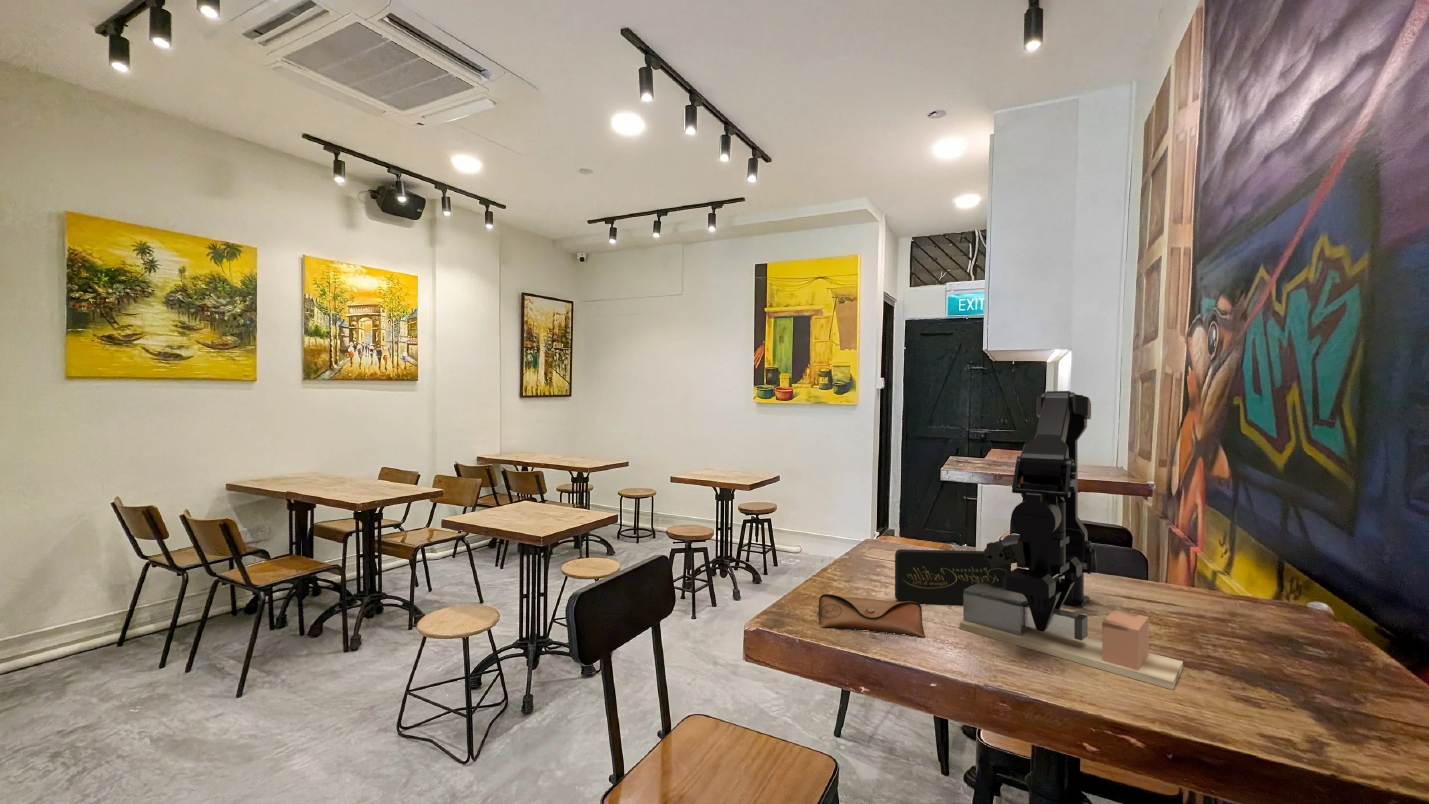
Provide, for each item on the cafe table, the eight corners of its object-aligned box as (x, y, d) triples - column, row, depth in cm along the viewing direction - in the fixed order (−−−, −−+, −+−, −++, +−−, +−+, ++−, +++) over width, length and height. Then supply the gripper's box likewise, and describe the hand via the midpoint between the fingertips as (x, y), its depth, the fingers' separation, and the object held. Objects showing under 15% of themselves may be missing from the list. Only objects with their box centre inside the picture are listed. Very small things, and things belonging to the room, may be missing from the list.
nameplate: (1006, 604, 107) (1006, 551, 107) (1011, 607, 105) (1011, 554, 105) (894, 601, 109) (895, 549, 109) (897, 604, 107) (897, 551, 107)
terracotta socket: (1114, 645, 86) (1114, 609, 86) (1148, 654, 83) (1148, 617, 83) (1102, 660, 81) (1102, 621, 81) (1138, 670, 78) (1138, 630, 78)
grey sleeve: (977, 611, 100) (977, 582, 100) (1033, 626, 93) (1033, 594, 93) (963, 620, 96) (963, 589, 96) (1020, 636, 89) (1020, 603, 89)
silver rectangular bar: (974, 606, 99) (974, 589, 99) (1087, 635, 86) (1087, 615, 86) (967, 610, 97) (967, 593, 97) (1082, 640, 84) (1082, 620, 84)
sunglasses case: (816, 628, 94) (817, 587, 98) (817, 635, 100) (818, 597, 104) (930, 638, 90) (927, 596, 94) (924, 646, 96) (921, 605, 100)
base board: (981, 615, 101) (981, 609, 101) (1183, 668, 81) (1182, 661, 81) (959, 628, 95) (959, 622, 95) (1172, 689, 74) (1172, 682, 74)
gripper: (1011, 514, 102) (1011, 601, 102) (968, 529, 89) (968, 628, 89) (1082, 524, 94) (1082, 618, 94) (1047, 541, 81) (1047, 650, 81)
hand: (1044, 627), depth 89 cm, fingers open, 4 cm apart
